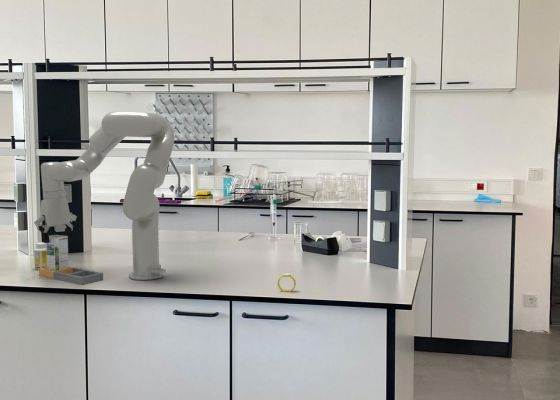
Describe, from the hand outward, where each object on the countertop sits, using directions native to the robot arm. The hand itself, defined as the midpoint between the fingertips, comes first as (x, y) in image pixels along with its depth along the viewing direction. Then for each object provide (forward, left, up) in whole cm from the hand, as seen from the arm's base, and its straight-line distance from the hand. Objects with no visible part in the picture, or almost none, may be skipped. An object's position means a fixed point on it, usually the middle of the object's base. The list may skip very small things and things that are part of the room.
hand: (57, 240), depth 231 cm
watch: (-85, -29, -13) cm, 90 cm away
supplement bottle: (+14, -3, -13) cm, 20 cm away
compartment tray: (-8, 0, -13) cm, 15 cm away
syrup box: (+1, 0, -13) cm, 13 cm away
